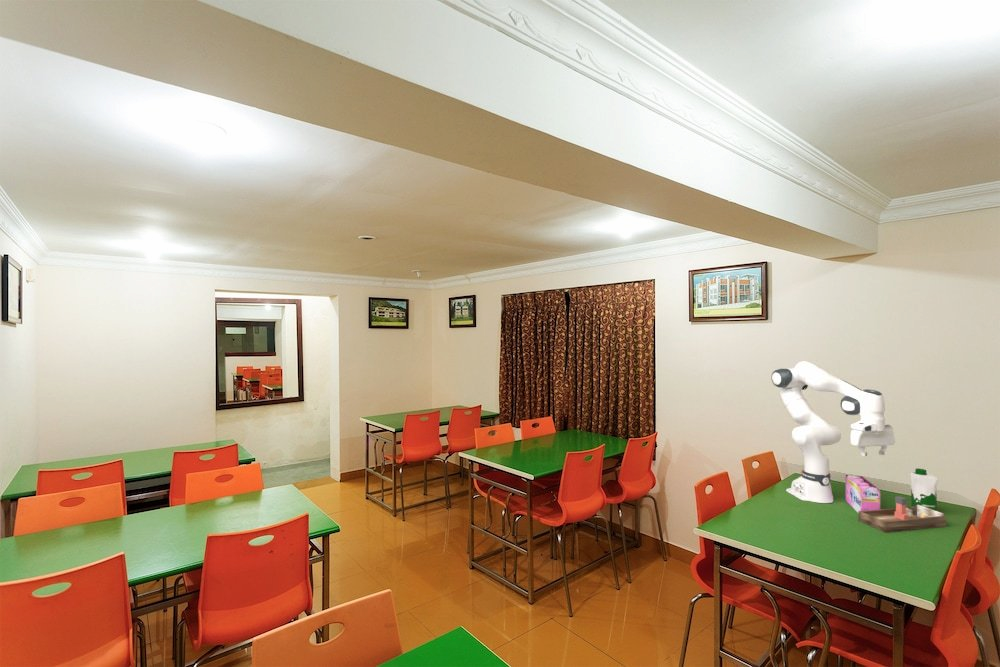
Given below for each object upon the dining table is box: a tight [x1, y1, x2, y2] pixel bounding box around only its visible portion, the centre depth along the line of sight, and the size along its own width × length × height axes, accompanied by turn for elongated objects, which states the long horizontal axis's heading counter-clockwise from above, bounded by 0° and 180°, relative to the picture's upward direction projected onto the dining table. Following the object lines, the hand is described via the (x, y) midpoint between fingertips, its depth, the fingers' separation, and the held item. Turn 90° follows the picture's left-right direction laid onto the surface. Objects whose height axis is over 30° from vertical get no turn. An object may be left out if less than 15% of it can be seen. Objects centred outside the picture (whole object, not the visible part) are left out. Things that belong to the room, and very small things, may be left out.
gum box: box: [845, 474, 882, 513], centre depth 236 cm, size 24×8×14 cm, turn 160°
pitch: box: [857, 505, 947, 533], centre depth 217 cm, size 13×32×6 cm, turn 99°
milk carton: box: [909, 468, 939, 511], centre depth 230 cm, size 9×9×20 cm
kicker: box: [894, 495, 908, 520], centre depth 217 cm, size 4×2×10 cm, turn 9°
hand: (873, 455), depth 219 cm, fingers open, 8 cm apart
